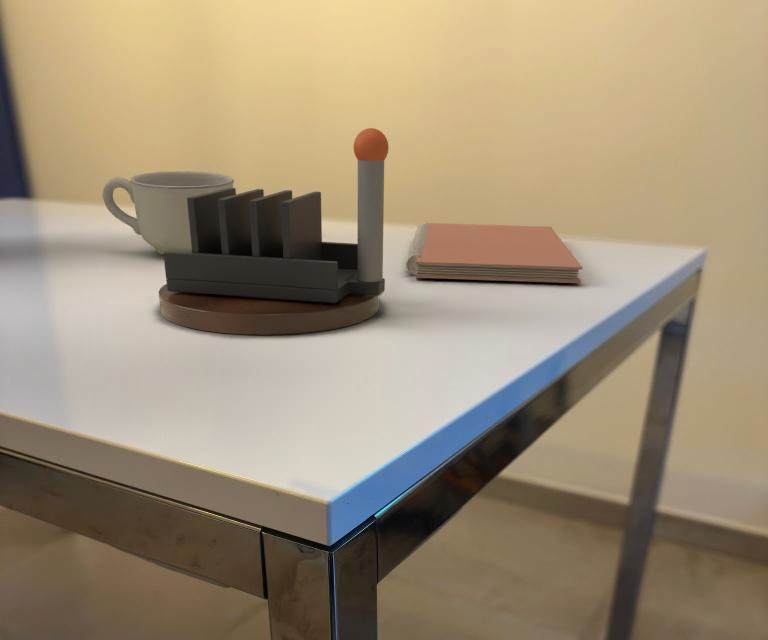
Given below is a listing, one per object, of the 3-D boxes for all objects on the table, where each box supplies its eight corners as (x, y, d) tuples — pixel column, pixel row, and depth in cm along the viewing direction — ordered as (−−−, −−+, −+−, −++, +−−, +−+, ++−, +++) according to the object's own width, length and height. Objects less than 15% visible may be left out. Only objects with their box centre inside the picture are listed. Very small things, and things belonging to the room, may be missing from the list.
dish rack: (167, 291, 62) (148, 124, 56) (214, 270, 70) (202, 122, 64) (372, 306, 59) (373, 130, 53) (397, 282, 66) (401, 127, 61)
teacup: (251, 247, 91) (247, 172, 87) (218, 264, 81) (211, 181, 77) (139, 242, 93) (130, 168, 89) (93, 258, 83) (81, 176, 79)
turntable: (112, 311, 63) (110, 292, 62) (261, 276, 76) (260, 260, 76) (285, 348, 54) (284, 327, 54) (418, 301, 68) (419, 284, 67)
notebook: (416, 236, 100) (416, 220, 99) (549, 241, 99) (551, 224, 98) (404, 279, 76) (405, 258, 75) (579, 285, 75) (582, 264, 74)
